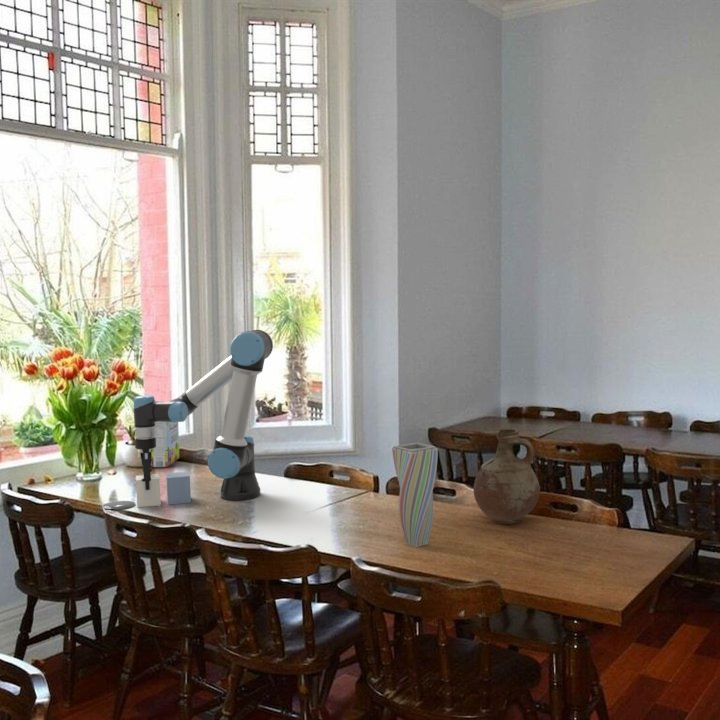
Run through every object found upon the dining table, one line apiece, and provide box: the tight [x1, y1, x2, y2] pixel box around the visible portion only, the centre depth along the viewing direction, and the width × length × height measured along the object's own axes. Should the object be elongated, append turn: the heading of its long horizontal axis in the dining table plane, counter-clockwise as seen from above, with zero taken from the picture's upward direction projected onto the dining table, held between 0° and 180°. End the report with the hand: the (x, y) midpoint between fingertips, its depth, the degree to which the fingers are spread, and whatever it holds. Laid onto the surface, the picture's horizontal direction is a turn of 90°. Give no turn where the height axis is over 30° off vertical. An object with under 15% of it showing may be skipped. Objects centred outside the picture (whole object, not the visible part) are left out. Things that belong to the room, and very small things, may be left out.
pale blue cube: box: [165, 471, 192, 505], centre depth 322 cm, size 8×8×10 cm
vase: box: [391, 442, 439, 548], centre depth 260 cm, size 14×14×30 cm
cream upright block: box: [135, 473, 162, 508], centre depth 320 cm, size 8×8×10 cm
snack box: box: [150, 422, 180, 468], centre depth 393 cm, size 22×9×26 cm, turn 179°
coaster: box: [103, 500, 136, 511], centre depth 317 cm, size 11×11×1 cm
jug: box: [473, 428, 541, 525], centre depth 282 cm, size 22×22×30 cm
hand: (147, 493), depth 320 cm, fingers open, 13 cm apart
